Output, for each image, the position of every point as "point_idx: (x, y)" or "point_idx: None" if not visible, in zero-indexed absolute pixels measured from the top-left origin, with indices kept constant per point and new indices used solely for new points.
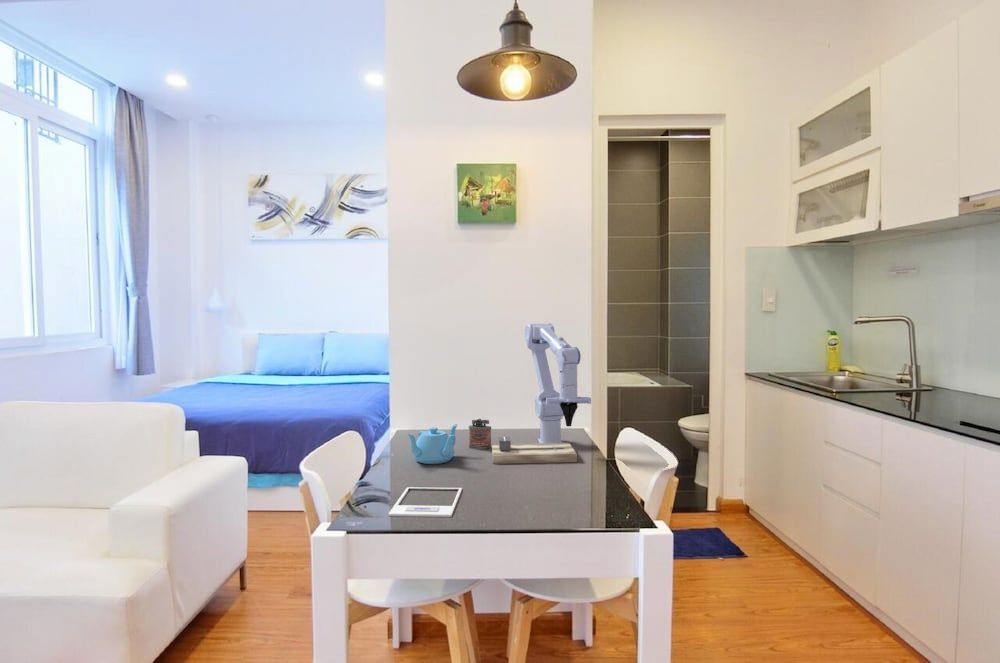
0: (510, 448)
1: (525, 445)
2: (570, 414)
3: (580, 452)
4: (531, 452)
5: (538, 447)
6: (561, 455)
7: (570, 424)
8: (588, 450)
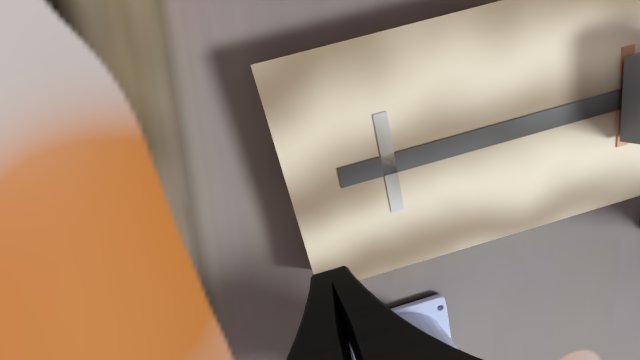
0: (635, 55)
1: (534, 192)
2: (334, 344)
3: (257, 246)
4: (511, 54)
5: (471, 167)
6: (341, 43)
7: (318, 278)
8: (223, 286)
